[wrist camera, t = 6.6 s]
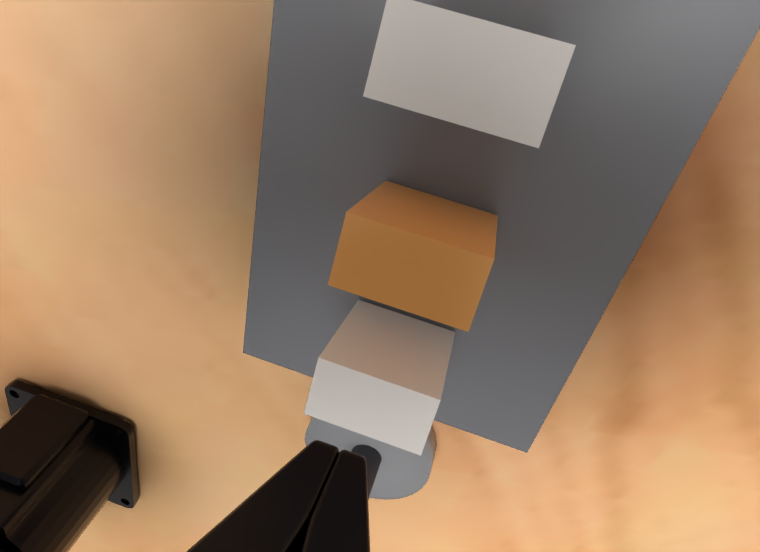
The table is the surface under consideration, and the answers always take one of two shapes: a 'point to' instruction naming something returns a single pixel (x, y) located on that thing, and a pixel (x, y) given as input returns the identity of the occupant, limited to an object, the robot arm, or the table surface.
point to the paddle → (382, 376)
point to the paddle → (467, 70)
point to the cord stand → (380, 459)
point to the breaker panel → (485, 182)
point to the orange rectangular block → (416, 253)
